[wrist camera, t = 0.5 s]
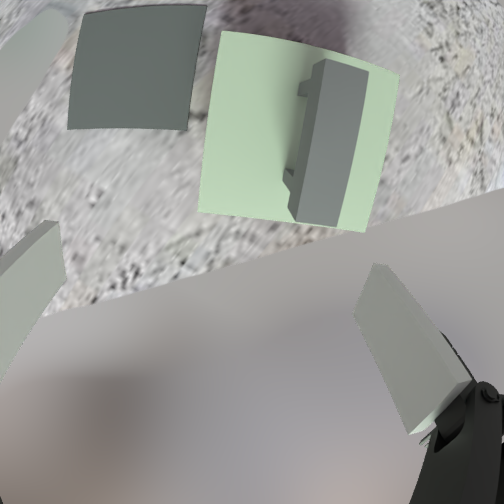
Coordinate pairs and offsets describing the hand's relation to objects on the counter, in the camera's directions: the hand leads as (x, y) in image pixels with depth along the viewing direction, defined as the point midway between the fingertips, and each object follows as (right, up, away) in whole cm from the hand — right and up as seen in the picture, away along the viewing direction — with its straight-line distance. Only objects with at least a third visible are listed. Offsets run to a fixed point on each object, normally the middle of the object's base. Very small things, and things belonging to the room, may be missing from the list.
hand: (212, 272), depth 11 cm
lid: (+6, +12, +14) cm, 19 cm away
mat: (-14, +25, +19) cm, 35 cm away
